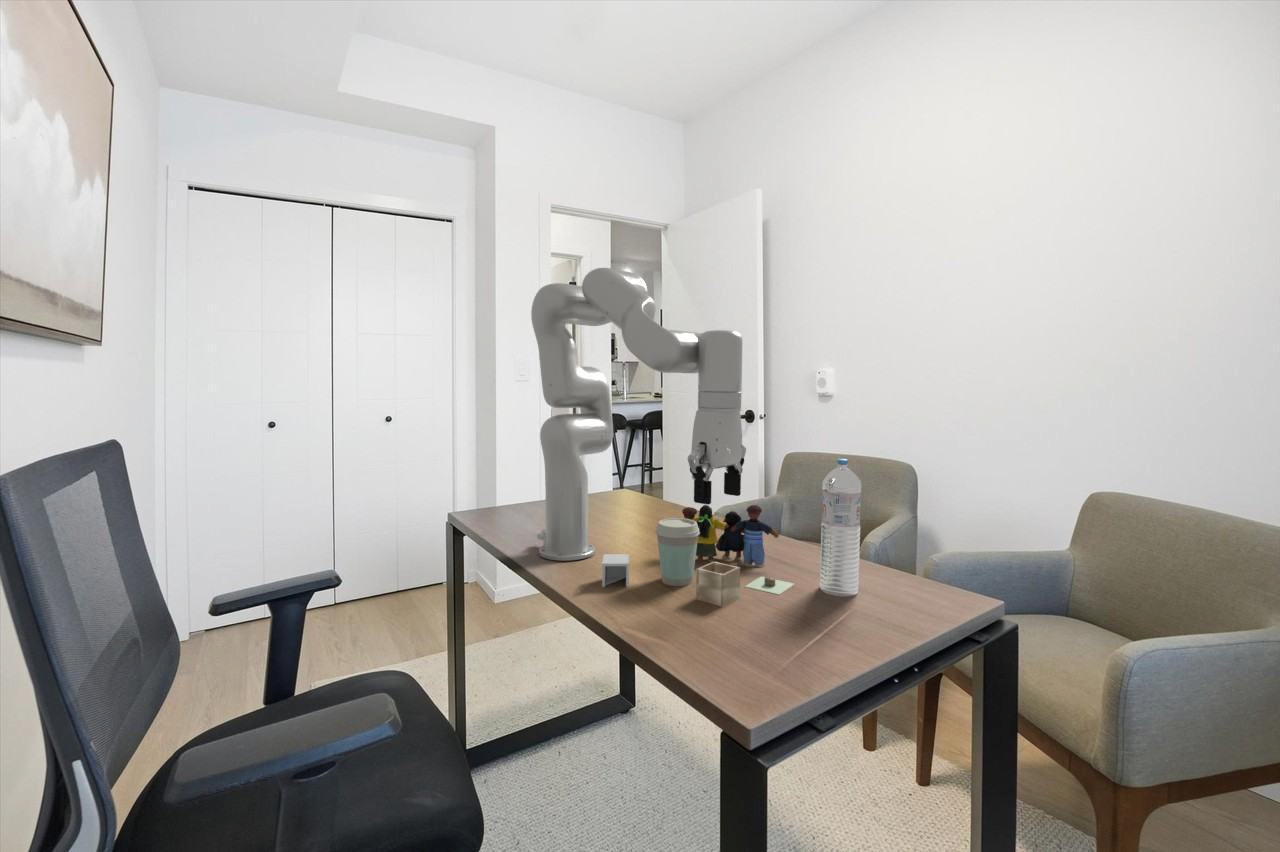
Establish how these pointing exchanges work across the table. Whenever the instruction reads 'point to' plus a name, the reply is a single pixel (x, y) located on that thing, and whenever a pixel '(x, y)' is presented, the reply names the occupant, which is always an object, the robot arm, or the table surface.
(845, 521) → the water bottle
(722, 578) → the box
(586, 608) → the table surface
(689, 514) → the doll family
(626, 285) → the robot arm
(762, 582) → the lid
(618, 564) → the white cuboid
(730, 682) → the table surface
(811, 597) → the table surface
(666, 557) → the coffee cup
